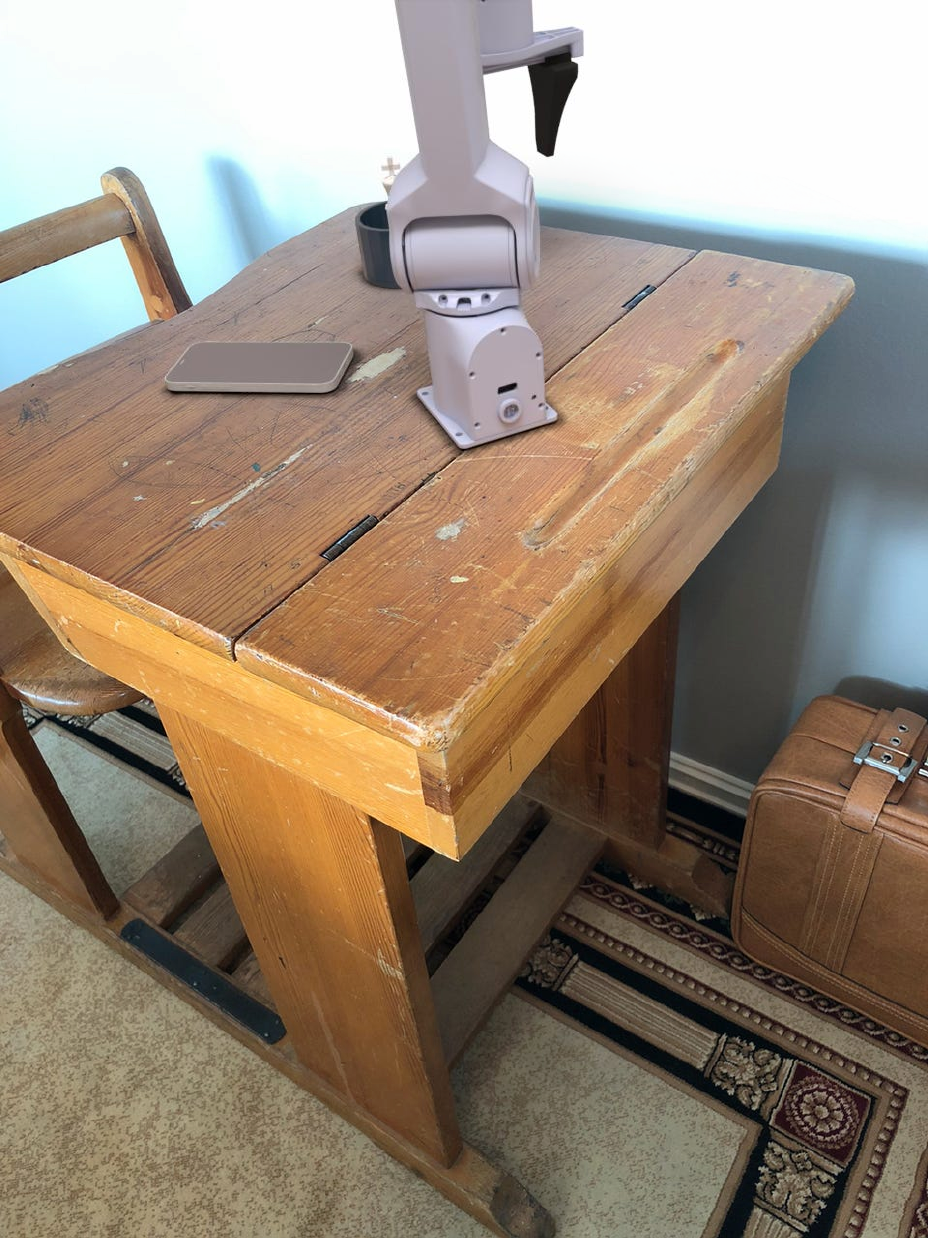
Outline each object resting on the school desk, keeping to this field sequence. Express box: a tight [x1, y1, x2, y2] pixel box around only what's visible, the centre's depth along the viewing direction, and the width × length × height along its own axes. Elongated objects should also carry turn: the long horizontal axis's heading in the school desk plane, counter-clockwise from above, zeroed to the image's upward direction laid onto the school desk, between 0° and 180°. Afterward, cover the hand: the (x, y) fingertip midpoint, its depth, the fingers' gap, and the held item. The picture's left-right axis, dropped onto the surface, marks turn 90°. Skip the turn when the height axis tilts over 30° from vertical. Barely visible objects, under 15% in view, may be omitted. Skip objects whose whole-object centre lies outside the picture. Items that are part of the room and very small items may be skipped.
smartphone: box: [164, 341, 355, 394], centre depth 82 cm, size 7×1×15 cm
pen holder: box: [354, 200, 402, 289], centre depth 94 cm, size 8×8×6 cm
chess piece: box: [380, 155, 401, 210], centre depth 92 cm, size 5×5×10 cm
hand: (506, 163), depth 85 cm, fingers open, 7 cm apart
